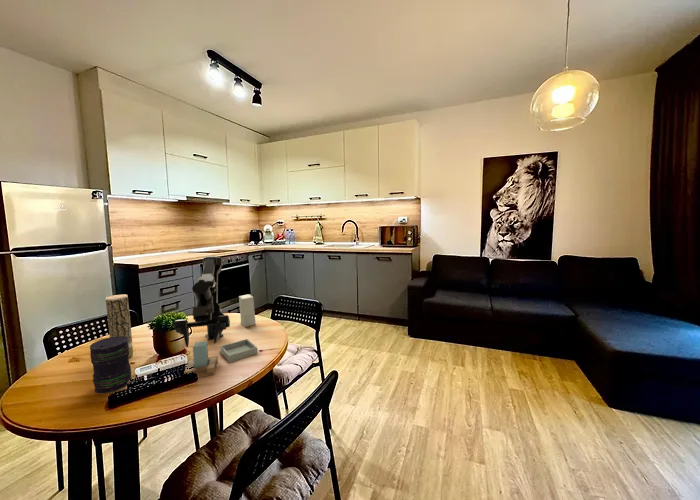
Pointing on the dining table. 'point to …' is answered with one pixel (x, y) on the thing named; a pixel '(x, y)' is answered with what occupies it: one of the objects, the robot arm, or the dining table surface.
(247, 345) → the tray
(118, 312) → the bark covered log
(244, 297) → the skincare box
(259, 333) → the dining table surface
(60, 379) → the dining table surface
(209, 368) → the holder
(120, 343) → the dark grey cylinder
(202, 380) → the dining table surface
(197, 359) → the peg
